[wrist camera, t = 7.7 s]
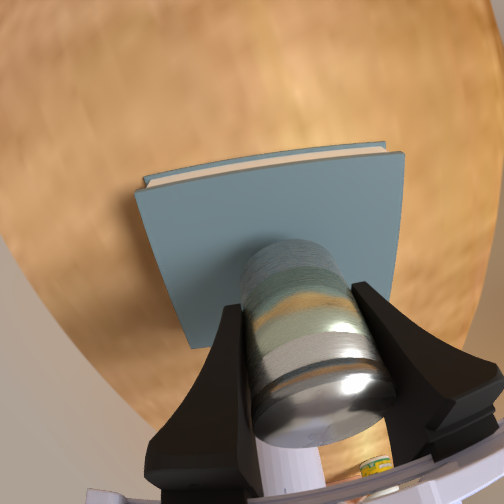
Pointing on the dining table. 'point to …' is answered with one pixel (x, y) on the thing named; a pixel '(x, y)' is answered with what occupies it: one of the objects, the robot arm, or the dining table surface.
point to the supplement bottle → (375, 467)
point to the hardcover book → (270, 221)
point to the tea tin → (308, 350)
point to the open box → (350, 502)
